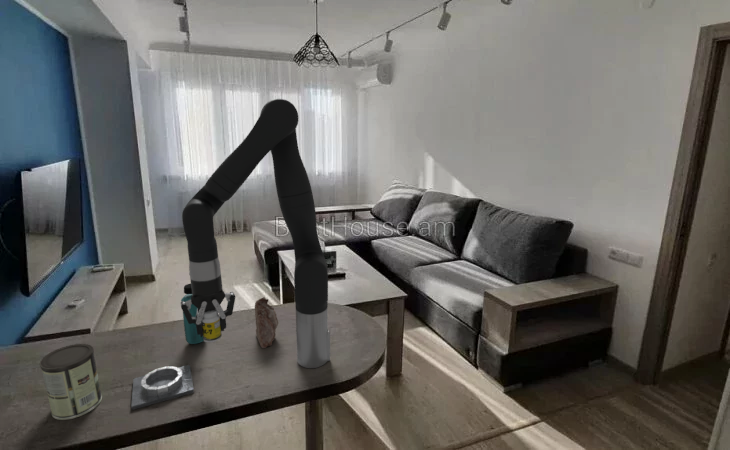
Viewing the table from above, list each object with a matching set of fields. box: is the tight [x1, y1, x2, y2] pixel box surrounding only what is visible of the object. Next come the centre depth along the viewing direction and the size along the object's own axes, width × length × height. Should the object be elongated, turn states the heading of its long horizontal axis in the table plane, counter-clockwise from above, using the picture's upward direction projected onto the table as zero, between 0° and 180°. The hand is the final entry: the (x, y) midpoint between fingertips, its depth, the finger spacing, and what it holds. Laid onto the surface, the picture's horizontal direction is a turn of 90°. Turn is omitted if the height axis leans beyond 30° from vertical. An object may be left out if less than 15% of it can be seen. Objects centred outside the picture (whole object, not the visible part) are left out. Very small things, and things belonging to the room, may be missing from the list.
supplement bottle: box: [201, 310, 223, 343], centre depth 104 cm, size 5×5×8 cm
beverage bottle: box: [180, 283, 205, 345], centre depth 120 cm, size 6×7×20 cm
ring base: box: [130, 364, 195, 411], centre depth 102 cm, size 14×12×3 cm
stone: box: [254, 296, 279, 349], centre depth 124 cm, size 15×7×10 cm
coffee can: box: [39, 343, 103, 421], centre depth 93 cm, size 10×10×14 cm
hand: (212, 332), depth 105 cm, fingers closed on supplement bottle, 4 cm apart
